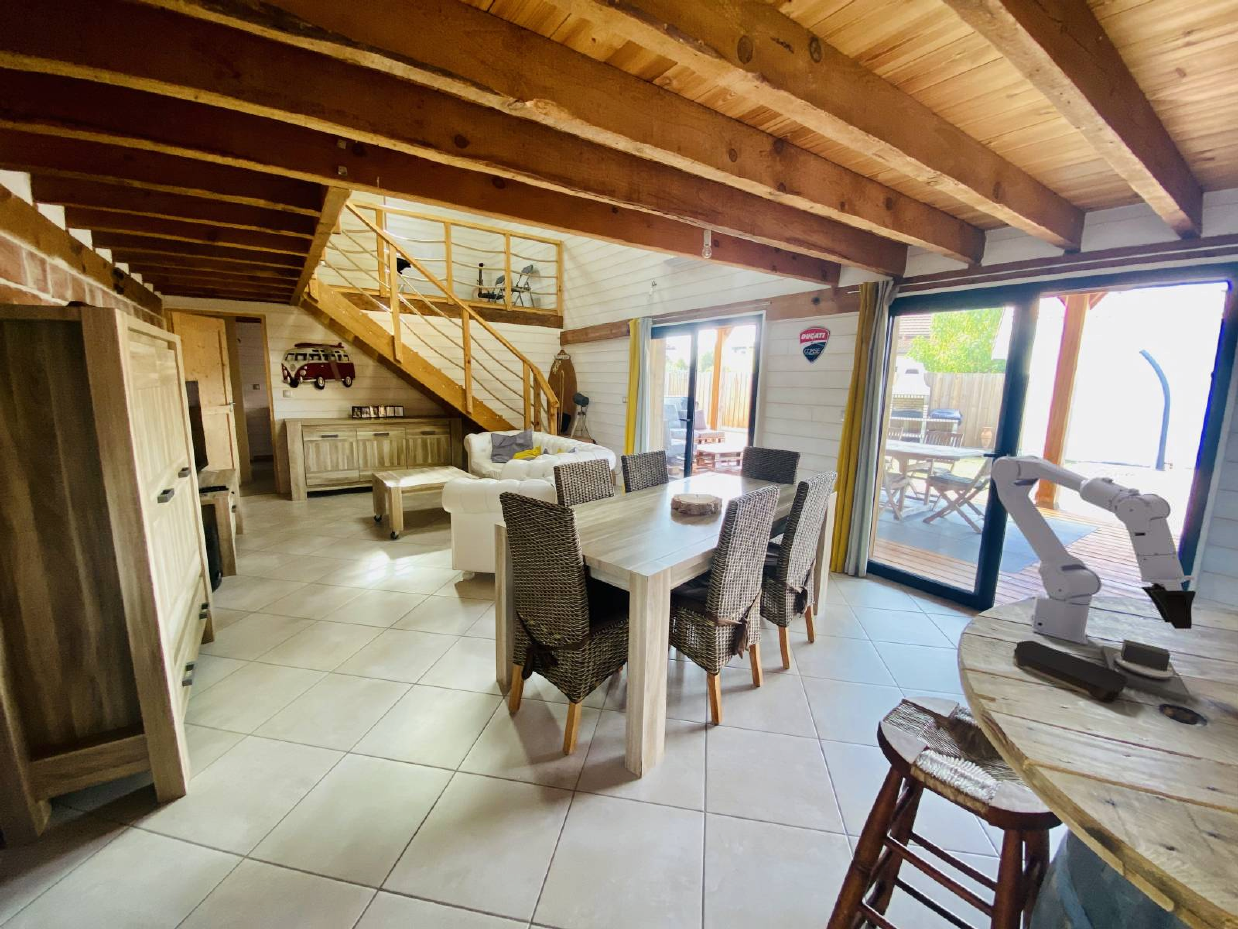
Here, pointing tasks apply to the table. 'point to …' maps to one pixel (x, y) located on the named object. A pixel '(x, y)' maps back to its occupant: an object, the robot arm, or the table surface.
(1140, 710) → the table surface
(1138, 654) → the dial
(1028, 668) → the dark scrub brush
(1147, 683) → the dial plate
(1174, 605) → the robot arm
